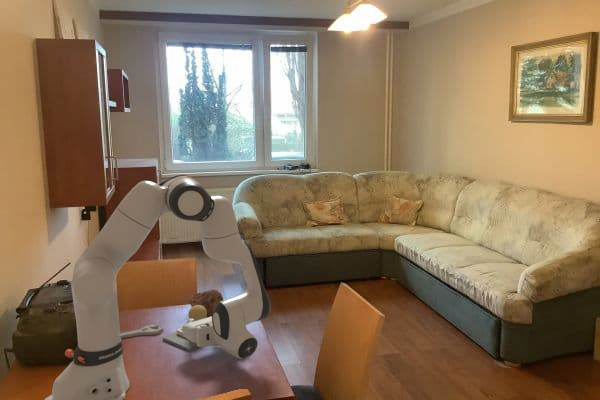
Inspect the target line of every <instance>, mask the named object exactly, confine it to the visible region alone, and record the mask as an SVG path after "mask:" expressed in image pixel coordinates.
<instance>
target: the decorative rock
mask: <svg viewBox="0 0 600 400" xmlns="http://www.w3.org/2000/svg"><path fill="white" fill-rule="evenodd" d="M223 300H224V297H223V295H222V293H221V292H220V291H219V290H217V289H210V290H209V289H208V290H207V291H202V292H198V293H196V294H193V295H192V296H190V299H189V301H188V302H189V306H190V308H191V307H193V306H195V305H202V306H204V307H205V309H206V311H207V317H211V316H212V313H213V310H214V307H215V305H216V304H217V303H218V302H220V301H223ZM207 317H206V318H207Z"/></svg>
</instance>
